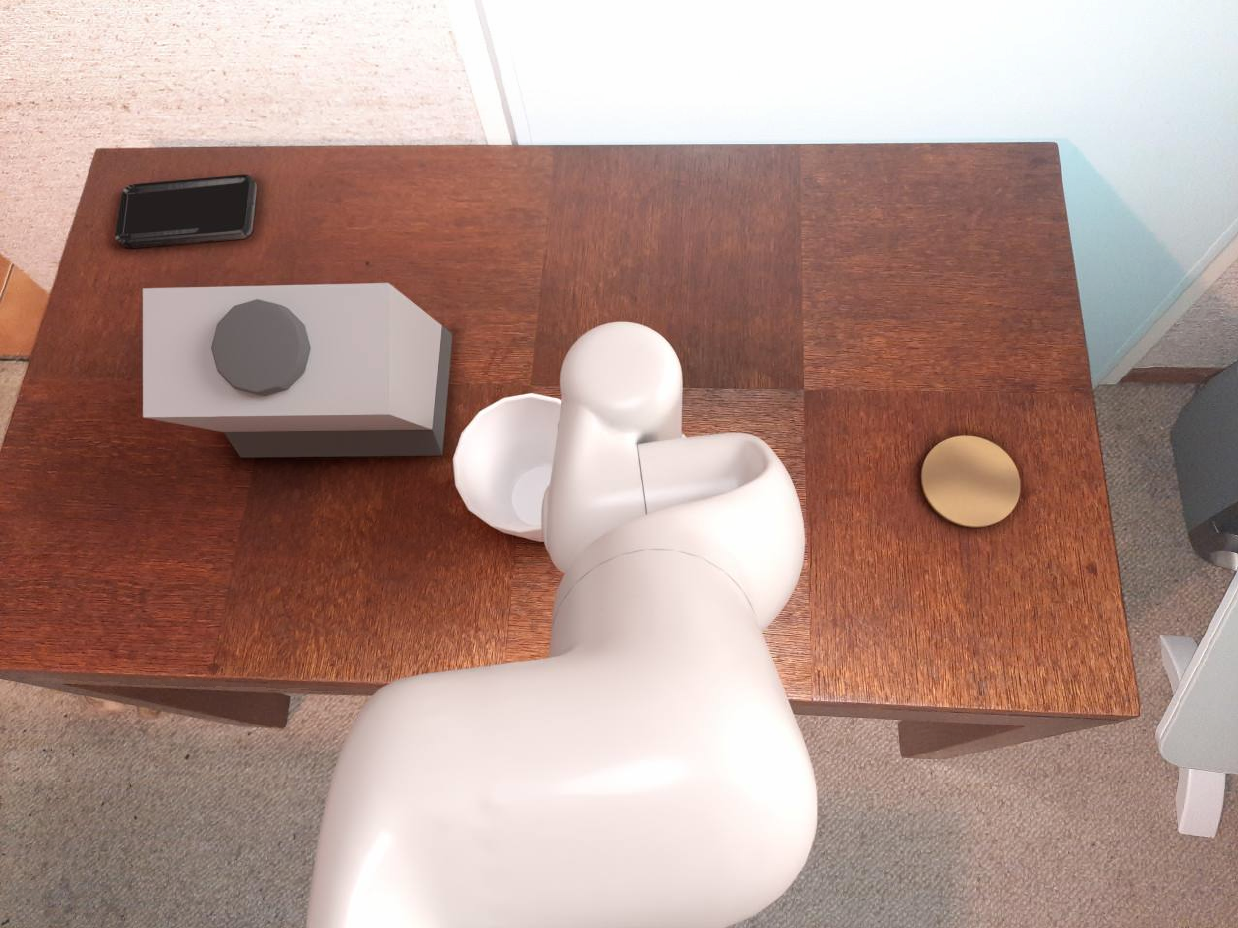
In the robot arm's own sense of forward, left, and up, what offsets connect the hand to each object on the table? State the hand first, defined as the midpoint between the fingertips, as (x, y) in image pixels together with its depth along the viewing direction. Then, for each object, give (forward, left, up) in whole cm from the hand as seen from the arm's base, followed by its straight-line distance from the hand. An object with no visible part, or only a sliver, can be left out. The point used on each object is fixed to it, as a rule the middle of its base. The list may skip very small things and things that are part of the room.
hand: (638, 511), depth 79 cm
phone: (+44, +43, -2) cm, 62 cm away
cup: (+4, +9, -2) cm, 10 cm away
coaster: (-3, -31, -2) cm, 31 cm away
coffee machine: (+17, +27, -2) cm, 32 cm away
